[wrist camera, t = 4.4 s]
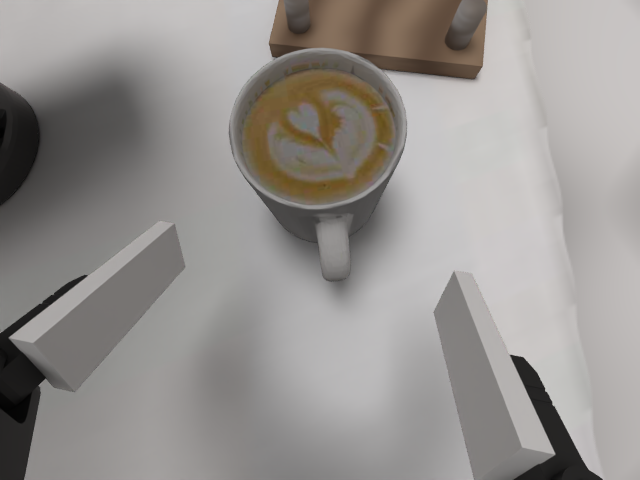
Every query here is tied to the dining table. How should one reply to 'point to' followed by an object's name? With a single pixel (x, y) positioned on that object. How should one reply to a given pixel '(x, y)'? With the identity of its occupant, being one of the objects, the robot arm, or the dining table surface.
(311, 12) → the standoff board
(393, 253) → the dining table surface
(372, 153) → the coffee mug
